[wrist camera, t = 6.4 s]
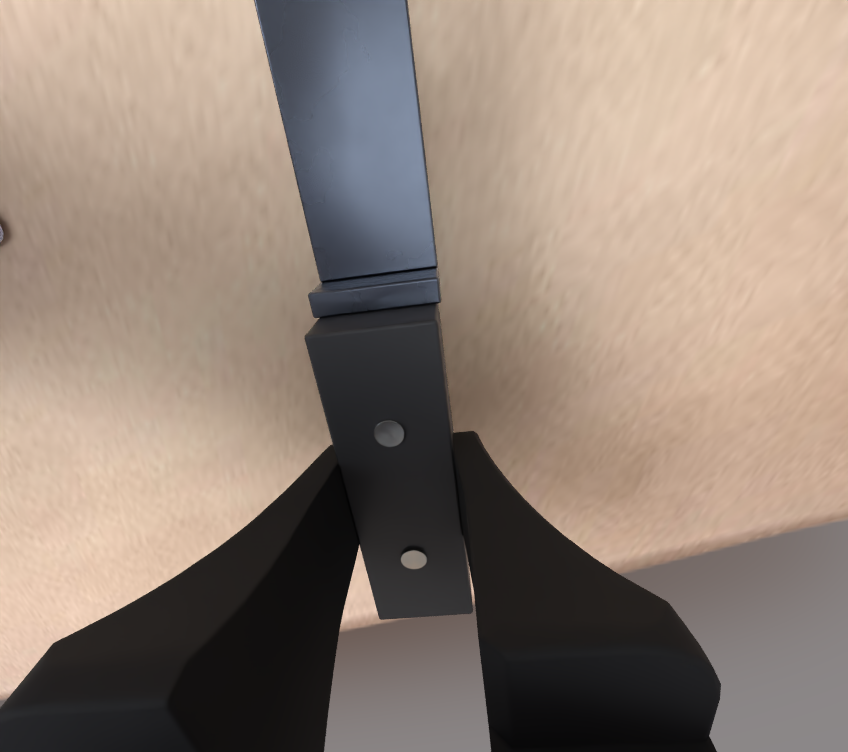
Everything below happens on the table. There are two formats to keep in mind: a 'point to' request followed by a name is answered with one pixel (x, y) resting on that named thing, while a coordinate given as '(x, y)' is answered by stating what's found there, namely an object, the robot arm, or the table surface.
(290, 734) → the robot arm
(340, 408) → the knife
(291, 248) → the table surface
